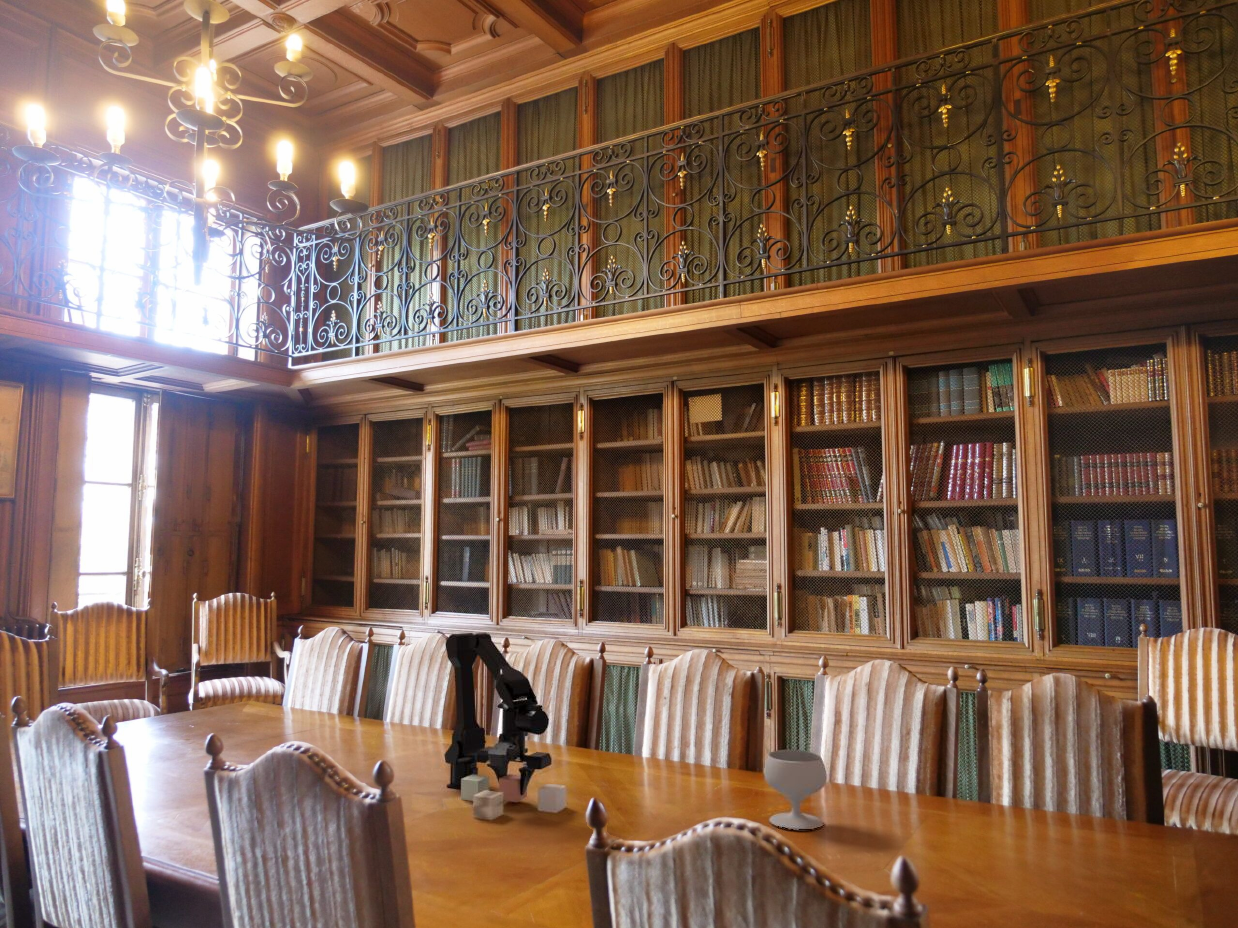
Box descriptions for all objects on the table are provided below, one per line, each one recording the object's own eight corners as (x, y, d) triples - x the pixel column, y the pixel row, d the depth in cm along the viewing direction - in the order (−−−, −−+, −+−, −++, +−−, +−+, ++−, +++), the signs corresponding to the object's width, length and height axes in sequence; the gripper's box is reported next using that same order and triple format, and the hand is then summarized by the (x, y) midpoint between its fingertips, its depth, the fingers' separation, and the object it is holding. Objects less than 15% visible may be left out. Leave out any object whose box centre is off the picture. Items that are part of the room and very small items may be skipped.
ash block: (473, 817, 194) (473, 795, 195) (484, 811, 199) (485, 789, 199) (491, 820, 192) (491, 797, 193) (502, 814, 197) (503, 792, 197)
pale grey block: (537, 810, 200) (538, 788, 200) (547, 804, 204) (548, 783, 205) (556, 813, 198) (556, 791, 198) (566, 807, 202) (566, 785, 203)
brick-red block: (498, 799, 204) (498, 778, 205) (509, 794, 209) (509, 773, 210) (516, 802, 202) (516, 780, 203) (526, 796, 207) (527, 775, 208)
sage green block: (460, 799, 209) (461, 778, 209) (472, 794, 213) (472, 774, 214) (477, 801, 207) (478, 781, 207) (488, 796, 211) (489, 776, 212)
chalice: (830, 817, 195) (828, 750, 196) (824, 836, 182) (823, 764, 183) (770, 811, 199) (769, 746, 201) (760, 829, 186) (759, 759, 188)
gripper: (463, 731, 204) (462, 797, 202) (530, 738, 196) (529, 807, 195) (488, 723, 214) (487, 786, 212) (552, 729, 207) (552, 794, 205)
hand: (512, 793), depth 206 cm, fingers closed on brick-red block, 5 cm apart
